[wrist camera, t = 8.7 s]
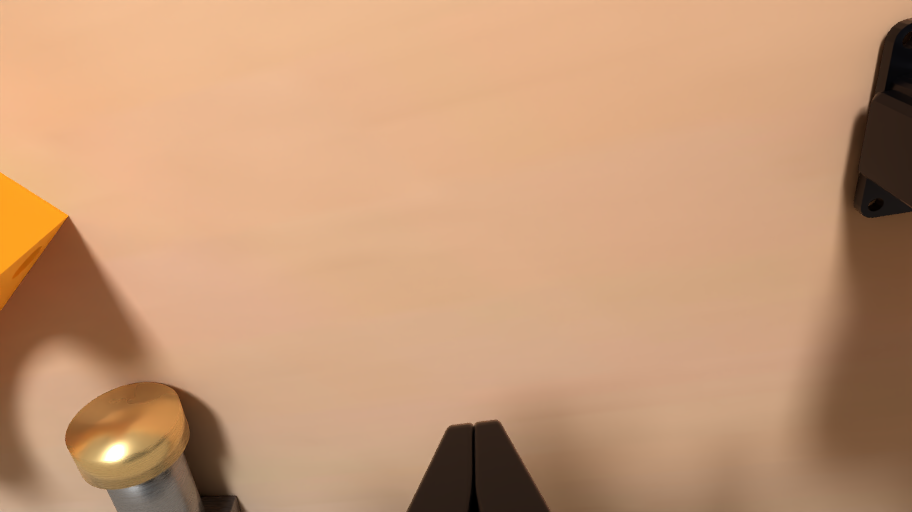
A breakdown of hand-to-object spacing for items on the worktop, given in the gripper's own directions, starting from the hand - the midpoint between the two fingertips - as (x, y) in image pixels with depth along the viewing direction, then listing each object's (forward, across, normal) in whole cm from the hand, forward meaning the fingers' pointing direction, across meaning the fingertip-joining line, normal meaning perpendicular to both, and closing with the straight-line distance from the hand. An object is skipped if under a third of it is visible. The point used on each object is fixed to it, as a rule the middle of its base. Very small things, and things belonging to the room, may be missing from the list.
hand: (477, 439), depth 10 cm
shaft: (+12, +15, +12) cm, 23 cm away
